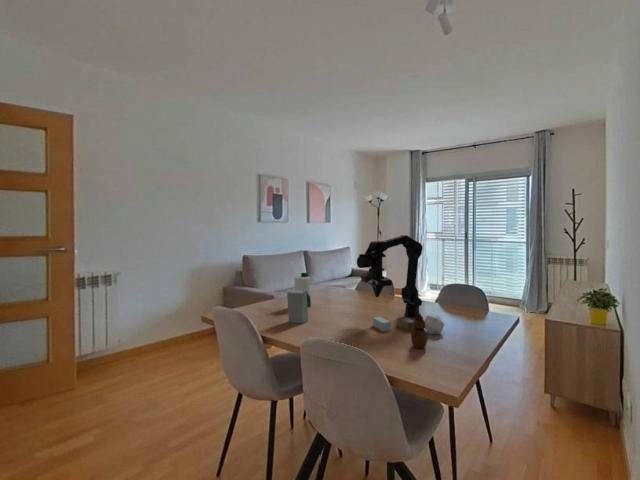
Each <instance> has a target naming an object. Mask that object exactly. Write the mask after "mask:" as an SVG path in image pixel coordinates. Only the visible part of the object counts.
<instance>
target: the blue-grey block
mask: <svg viewBox="0 0 640 480" xmlns="http://www.w3.org/2000/svg"><path fill="white" fill-rule="evenodd" d="M372 327H374V328H376V329H378V330H380V331H381V332H388V331H389V332H390V331H391V321H389V320H388V319H385V318H383V317H381V316H377V317H372Z"/></svg>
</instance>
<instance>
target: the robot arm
mask: <svg viewBox="0 0 640 480" xmlns="http://www.w3.org/2000/svg"><path fill="white" fill-rule="evenodd" d="M400 245H402V247H403V248H405V253H406V255H407V258H408V261H407V272H406V283H405V285H404V287H401V293H400V296H401V299H402V301H403V303H404V304H405V310H404V311H405V313H403V316H407V317H409V318H415V315H416V309H417V313H418V311H419V312H420V306H422V304H423V301H422V299H421V298H420V297H419V290H418V288H417V285H416V283H417V277H418V275H417V274H418V263H419V258H420V257H421V255H422V253H423V250H424V249H423V244H422V243H420V242H419V241H417V240H415V239H413V238H412V237H411V236H409V235H404V234H403V235H399V236H395V237H393V238H389V239H386V240H376V241H371V242H369V245H368V247H367V249H366V250H365V252H364V254H363V253H359V254H358V256H357V259H356V265H357V267H358V268H360V269H364V268H365V269H367V268H368V271H367V272H365V273H363V274H361V275H360V279H361V282H362V283H363V282H364V283H365V284H366V283H368V285H370V286H371V288H372V291H373V293H374V296H375V298H379V297H380V294H381V292H382V290H383V288H384V287H389V286H391V287H392V286H393V281H392V279H390V278H385V276H383V275H384V274H383V272H384V271H385V268H383V258H386V257H387V256H386V254H385V253H384V252H386V251H387V250H388V249H390V248H394V247H397V246H400Z"/></svg>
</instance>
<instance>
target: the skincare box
mask: <svg viewBox="0 0 640 480" xmlns="http://www.w3.org/2000/svg"><path fill="white" fill-rule="evenodd" d="M286 296H287V297H286V299H287V311H288V312H287V314H288V323H291V324H304V323H307V322H308V321H309V312H308V311H309V310H308V307H307V293H306V291H302V290H295V289H293V290H290V291H288V292H287V293H286Z"/></svg>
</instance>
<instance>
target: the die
mask: <svg viewBox="0 0 640 480" xmlns="http://www.w3.org/2000/svg"><path fill="white" fill-rule="evenodd" d="M424 321H425V328H424V330H425V331H426V333H427V334H428V335H441V334H442V331H443V329H444V326H445V323H444V321H443V320H442V318H441V317H440V316H439V315H426V318H425V319H424Z"/></svg>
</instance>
